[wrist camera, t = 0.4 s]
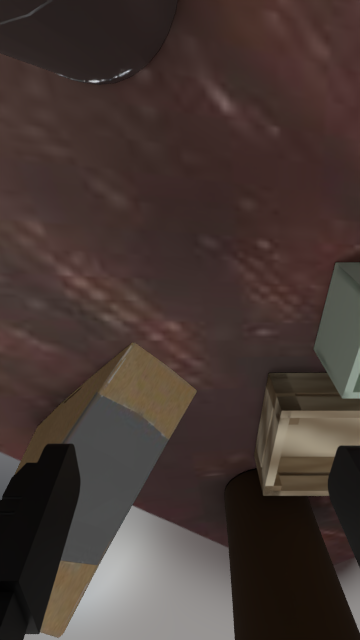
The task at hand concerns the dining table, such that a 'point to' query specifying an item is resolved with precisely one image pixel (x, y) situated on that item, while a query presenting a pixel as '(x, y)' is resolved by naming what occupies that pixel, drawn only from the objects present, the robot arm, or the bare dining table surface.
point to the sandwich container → (107, 460)
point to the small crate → (342, 330)
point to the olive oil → (281, 569)
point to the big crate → (302, 433)
